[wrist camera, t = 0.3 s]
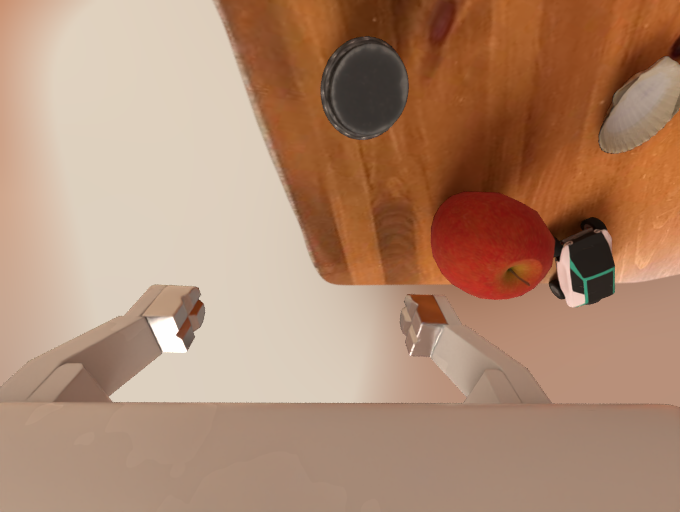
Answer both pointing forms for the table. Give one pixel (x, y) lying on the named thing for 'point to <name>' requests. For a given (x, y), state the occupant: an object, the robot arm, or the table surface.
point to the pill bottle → (364, 88)
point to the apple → (491, 245)
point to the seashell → (641, 107)
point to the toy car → (584, 265)
